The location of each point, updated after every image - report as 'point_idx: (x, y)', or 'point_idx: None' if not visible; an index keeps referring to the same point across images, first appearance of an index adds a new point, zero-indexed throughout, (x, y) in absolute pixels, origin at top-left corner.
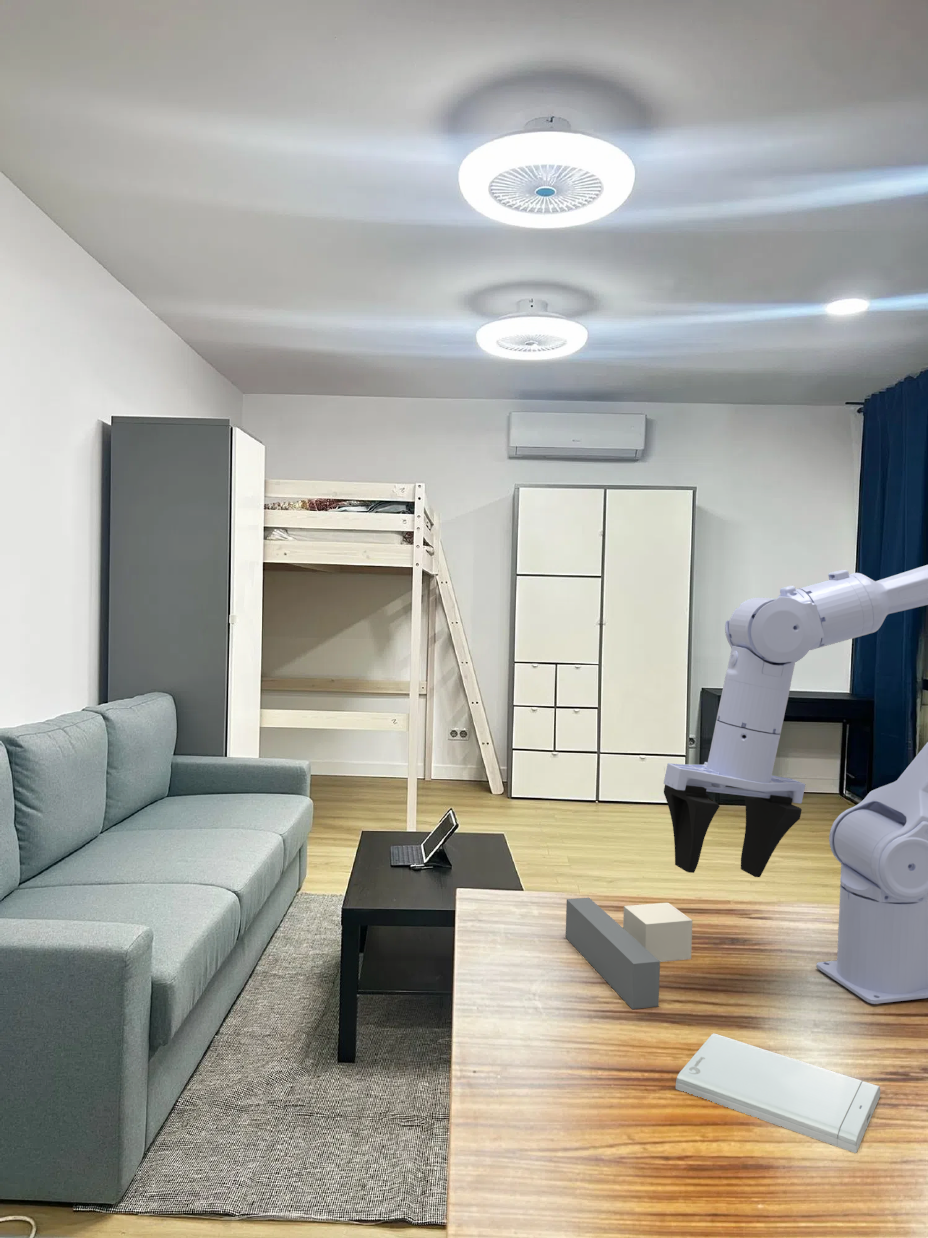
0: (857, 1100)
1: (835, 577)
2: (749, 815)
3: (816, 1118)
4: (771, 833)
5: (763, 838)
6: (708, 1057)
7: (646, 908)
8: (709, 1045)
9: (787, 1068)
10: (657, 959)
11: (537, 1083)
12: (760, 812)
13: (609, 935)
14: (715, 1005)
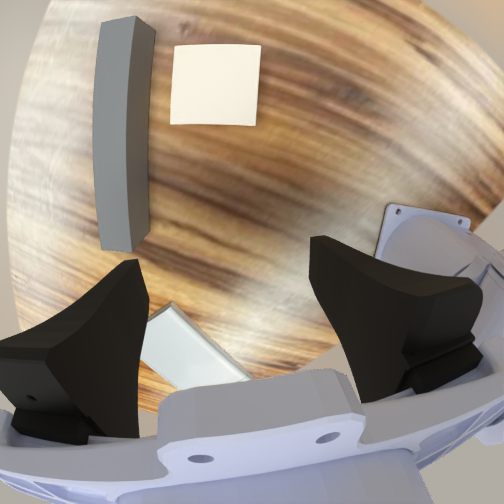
0: None
1: None
2: (376, 300)
3: None
4: (349, 360)
5: (345, 329)
6: (147, 333)
7: (207, 60)
8: (155, 323)
9: (200, 359)
10: (131, 246)
11: (45, 300)
12: (379, 351)
13: (99, 162)
14: (212, 243)
